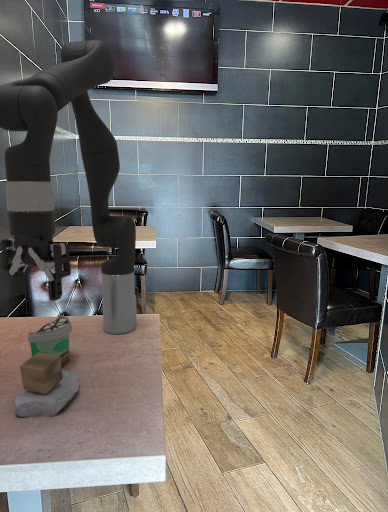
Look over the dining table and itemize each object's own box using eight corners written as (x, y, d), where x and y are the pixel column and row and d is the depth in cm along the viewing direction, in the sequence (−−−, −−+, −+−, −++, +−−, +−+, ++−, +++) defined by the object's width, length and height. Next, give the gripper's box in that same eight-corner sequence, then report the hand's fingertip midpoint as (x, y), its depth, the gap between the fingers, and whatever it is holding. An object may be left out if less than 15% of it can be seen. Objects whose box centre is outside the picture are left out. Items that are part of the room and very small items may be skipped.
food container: (55, 378, 79) (52, 335, 77) (30, 375, 80) (27, 333, 79) (83, 354, 91) (81, 316, 89) (61, 351, 92) (58, 314, 91)
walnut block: (41, 374, 73) (38, 352, 72) (63, 378, 72) (59, 356, 70) (23, 389, 69) (19, 366, 67) (45, 394, 67) (42, 370, 66)
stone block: (81, 391, 78) (34, 383, 77) (85, 371, 77) (37, 363, 76) (65, 429, 67) (9, 420, 66) (68, 406, 66) (12, 397, 65)
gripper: (77, 208, 64) (82, 296, 68) (19, 205, 70) (26, 287, 73) (44, 210, 58) (51, 308, 61) (-17, 207, 63) (-8, 297, 67)
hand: (37, 296), depth 67 cm, fingers open, 8 cm apart
